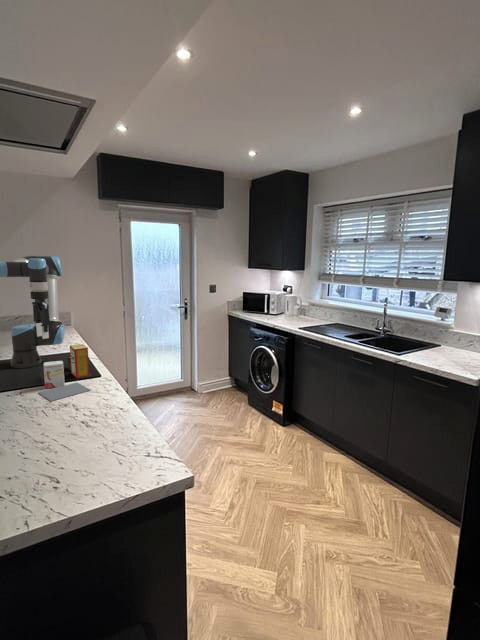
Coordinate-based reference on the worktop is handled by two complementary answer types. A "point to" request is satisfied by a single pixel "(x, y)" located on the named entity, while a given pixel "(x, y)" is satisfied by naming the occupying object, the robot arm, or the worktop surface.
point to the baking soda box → (79, 360)
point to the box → (69, 363)
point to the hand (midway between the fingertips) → (42, 337)
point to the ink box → (53, 374)
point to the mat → (64, 391)
